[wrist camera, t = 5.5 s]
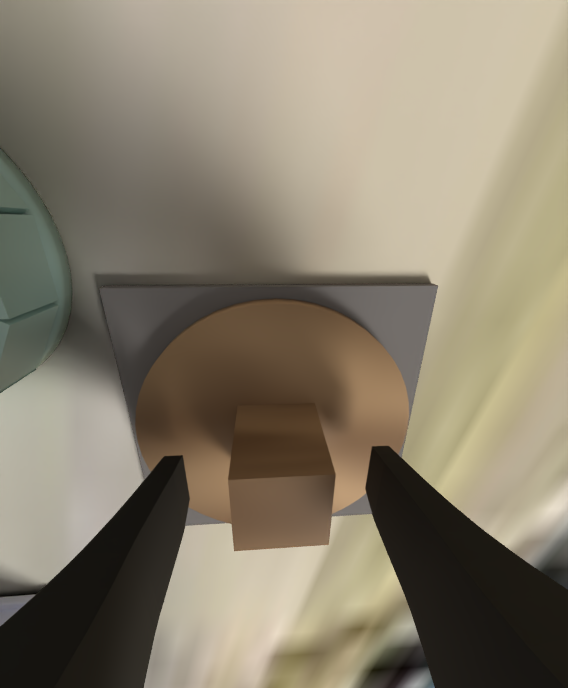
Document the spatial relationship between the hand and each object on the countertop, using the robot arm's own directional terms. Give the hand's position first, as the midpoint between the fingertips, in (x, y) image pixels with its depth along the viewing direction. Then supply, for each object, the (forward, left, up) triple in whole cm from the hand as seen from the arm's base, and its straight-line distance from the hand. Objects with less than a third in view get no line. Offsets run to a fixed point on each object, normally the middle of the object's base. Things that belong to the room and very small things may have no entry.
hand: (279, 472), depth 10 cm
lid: (0, 0, -3) cm, 3 cm away
